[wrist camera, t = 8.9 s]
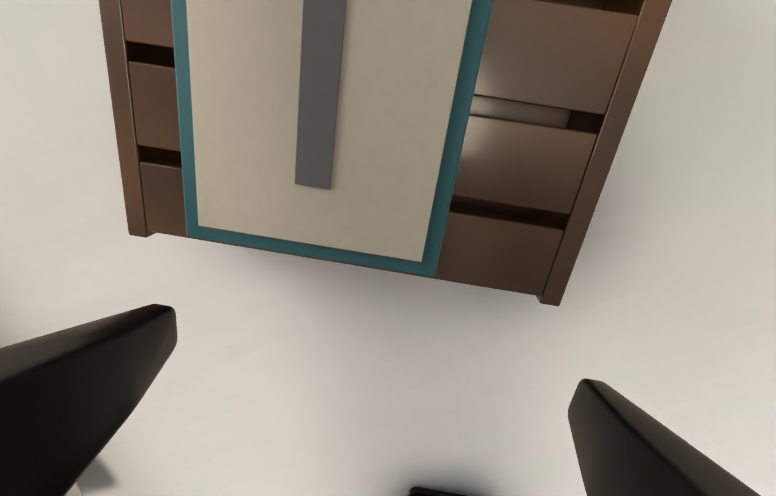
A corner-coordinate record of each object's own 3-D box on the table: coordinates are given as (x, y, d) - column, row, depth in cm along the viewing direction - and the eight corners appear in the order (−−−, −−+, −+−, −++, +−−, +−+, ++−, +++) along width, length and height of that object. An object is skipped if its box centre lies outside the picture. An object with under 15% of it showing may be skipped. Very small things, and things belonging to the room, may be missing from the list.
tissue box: (429, 213, 14) (435, 281, 9) (269, 187, 14) (181, 239, 9) (478, -43, 11) (530, -167, 6) (274, -73, 11) (147, -221, 6)
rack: (529, 261, 19) (590, 353, 12) (189, 206, 20) (64, 264, 13) (637, -78, 14) (850, -250, 7) (168, -146, 14) (-68, -373, 7)
